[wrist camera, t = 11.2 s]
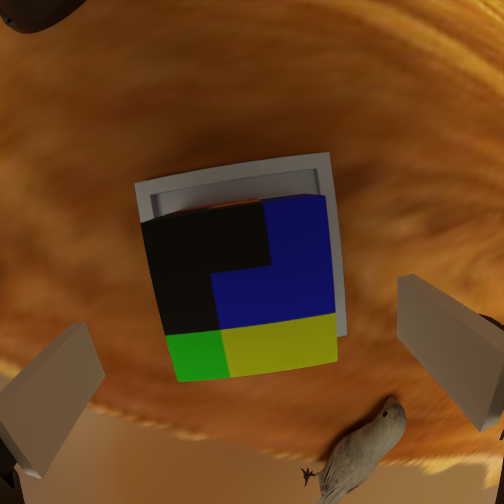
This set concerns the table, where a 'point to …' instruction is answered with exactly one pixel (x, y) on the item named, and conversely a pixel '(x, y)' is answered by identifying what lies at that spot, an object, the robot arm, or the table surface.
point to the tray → (251, 197)
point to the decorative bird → (360, 453)
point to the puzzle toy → (245, 286)
